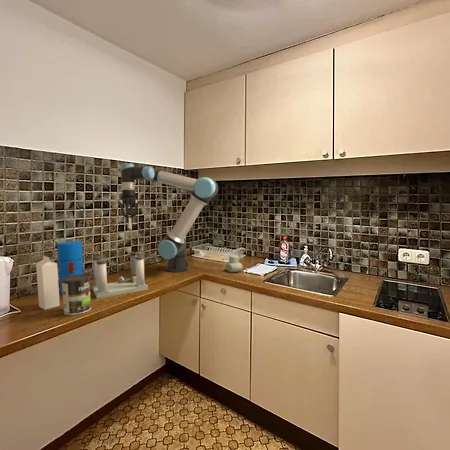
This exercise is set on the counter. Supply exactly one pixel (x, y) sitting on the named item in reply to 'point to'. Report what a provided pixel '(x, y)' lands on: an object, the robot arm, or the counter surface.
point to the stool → (117, 288)
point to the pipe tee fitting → (234, 264)
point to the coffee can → (76, 294)
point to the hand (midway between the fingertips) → (129, 228)
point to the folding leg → (133, 268)
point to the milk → (47, 284)
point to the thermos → (69, 260)
